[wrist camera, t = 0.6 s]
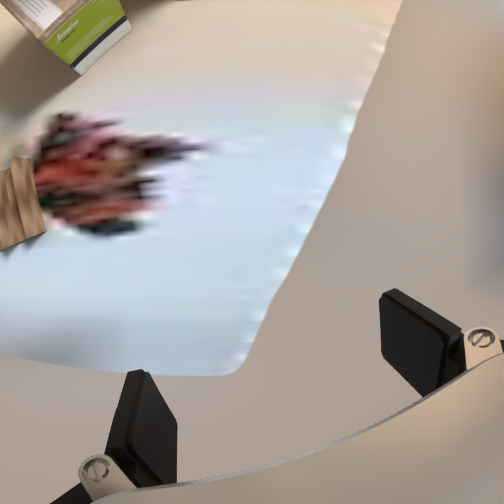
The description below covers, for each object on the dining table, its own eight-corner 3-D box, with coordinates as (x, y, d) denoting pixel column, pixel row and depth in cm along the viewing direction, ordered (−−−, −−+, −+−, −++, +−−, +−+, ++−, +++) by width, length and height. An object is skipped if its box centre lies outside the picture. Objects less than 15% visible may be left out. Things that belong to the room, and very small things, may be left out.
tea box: (37, 34, 26) (-7, -3, 12) (84, -8, 26) (54, -57, 12) (82, 78, 31) (34, 38, 16) (135, 30, 30) (111, -28, 16)
